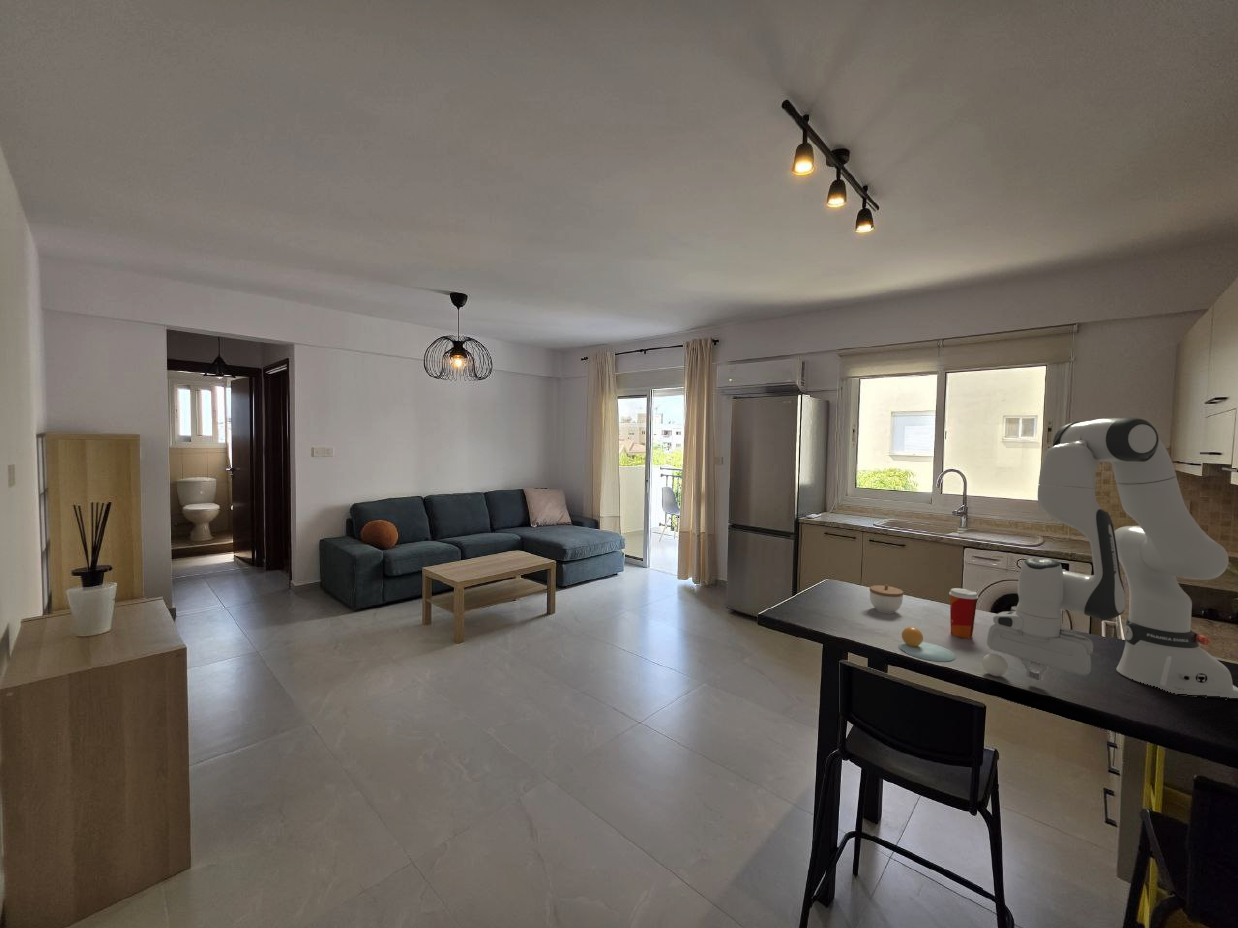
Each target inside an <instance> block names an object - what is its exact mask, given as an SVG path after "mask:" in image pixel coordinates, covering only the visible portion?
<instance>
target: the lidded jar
mask: <svg viewBox="0 0 1238 928" xmlns="http://www.w3.org/2000/svg"><path fill="white" fill-rule="evenodd" d="M903 597H904V591H903V590H902V589H900V588H897V587H894V586H891V585H890V586H889V585H888V584H884V585H881V584H879V585H877V584H876V585H871V586H869V599H870V603H871V605H872V606H873V607H874V609H875V610H876V611H877V610H878V611H877V612H879V611H880V612H879V613H882V612H883V614H895V613H896V612H897V611H899V609H900V608H901V606H902V604H903V599H904V598H903Z"/></svg>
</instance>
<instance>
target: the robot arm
mask: <svg viewBox="0 0 1238 928" xmlns="http://www.w3.org/2000/svg"><path fill="white" fill-rule="evenodd" d="M1052 440H1053V441H1052V446H1051V447H1049V448H1048V449H1047V450H1046V452H1045V454H1044V457H1043V461H1042V463H1041V467H1040V472H1039V476H1038V484H1037V485H1038V486H1037V502H1038V506H1039V507H1040V509H1041V510H1042V512H1044V513H1045V514H1046V515H1047V516H1049V518H1051V519H1053V520H1055V521H1057V522H1059V523H1061V524H1063V525H1066V526H1069V527H1071V528H1072V529H1074V530H1077V531H1078V532H1079V533H1081V534H1082V535H1084V536H1085V537H1086V538H1087V540H1088V542H1089V544H1090V551H1091V559H1092V566H1093V574H1092V575H1090V574H1084V573H1081V572H1080V573H1079V572H1075V571H1069V570H1064V569H1063V567H1062V564H1061V563H1060V562H1059V561H1057V560H1055V559H1051V558H1048V557H1031V558H1026V559H1024V560H1023V561H1022V564H1021V565H1020V566H1021V567H1020V571H1019V573H1018V574H1019V575H1018V582H1017V596H1018V603H1017V605H1016V606H1017V609H1016V611H1011V610H1010V611H1001V612H998V613H996V614H995V615H994V616H993V619H992V620H993V624H992V625H990V627H989V629H988V634H987V639H986V645H987V647H988V648H989V650H992V651H995V652H999V653H1002V654H1007V655H1009V656H1013V657H1017V658H1020V659H1021V664H1022V665H1023V666H1024V668H1025V670H1026V677H1027V678H1030V679H1033V680H1035V681H1039V682H1042V681H1043V680H1044V674H1045V673H1046V672H1047V671H1048V670H1049V669H1050V668H1055V669H1059V670H1062V671H1066V672H1069V673H1073V674H1077V675H1080V676H1086V675H1088V674H1089V673H1090V672H1091V670H1092V660H1091V659H1092V657H1091V655H1092V654H1093V652H1094V643H1093V641H1092V640H1091V639H1090V638H1088V637H1086V635H1084V634H1082V633H1075V632H1072V631H1069V630H1064V629H1062V622H1063V613H1062V610H1066V611H1069V612H1073V613H1077V614H1082V615H1085V616H1088V617H1091V618H1094V619H1098V620H1100V621H1109V620H1111V619H1115V618H1117V617H1120V616H1121V615H1123V613H1124V612H1125V609H1126V606H1127V605H1126V604H1127V597H1126V592H1125V588H1124V587H1125V586H1124V583H1123V580H1122V575H1121V569H1120V565H1121V567H1122V570H1123V572H1124V575H1125V578H1126V582H1127V585H1128V591H1129V594H1128V595H1129V601H1128V602H1129V605H1128V618H1127V619H1125V620H1126V621H1125V627H1124V640H1125V643H1124V647H1123V648H1124V649H1123V652H1122V655H1121V658H1120V660H1119V662H1118V665H1117V666H1116V671H1117V672H1118V673H1119V674H1120V675H1122V676H1124V677H1126V678H1128V679H1130V680H1132V679H1133V681H1136V682H1138V683H1140V682H1141V684H1143V683H1144V685H1147V684H1148V685H1147V686H1150V685H1151V686H1150V687H1153V686H1155V687H1154V688H1156V687H1158V688H1157V689H1159V688H1160V690H1162V689H1163V690H1162V691H1164V690H1165V692H1167V691H1168V693H1170V692H1171V693H1170V694H1173V693H1175V694H1174V695H1177V694H1187V695H1207V696H1220V697H1227V698H1228V697H1229V698H1238V687H1237V686H1236V685H1234V684H1233V678H1232V677H1233V676H1232V674H1231V672H1230V670H1229V669H1228V667H1227V666H1226V665H1224V664H1223V663H1222V662H1220V661H1219V660H1218V659H1217V658H1215V657H1214V656H1212V655H1211V654H1210V653H1208V652H1207V651H1206V650H1204V649H1203V648H1202V647H1200V645H1199V643H1200V644H1202V645H1203V646H1209V644H1211V642H1212V641H1211V639H1210V637H1207V636H1205V635H1203V634H1199V633H1197V632H1194V631H1193V630H1192V629H1191V624H1192V623H1191V621H1192V608H1193V607H1192V606H1193V602H1192V599H1191V597H1190V596H1189V595H1188V594H1187V593H1186V591H1184V590H1183V589H1182V587H1181V586H1180V584H1179V582H1178V579H1177V577H1178V578H1181V579H1188V580H1199V581H1200V580H1201V581H1202V580H1203V581H1207V580H1208V581H1210V580H1213V579H1216V578H1218V577H1220V576H1221V575H1223V574H1224V572H1225V571H1226V570H1227V569H1228V566H1229V560H1230V559H1229V554H1228V552H1227V550H1226V549H1225V548H1224V546H1223V545H1221V544H1220V543H1218V542H1217V541H1216V540H1214V539H1213V538H1211V537H1210V536H1209V535H1208V533H1206V532H1205V531H1204V530H1203V529H1202V528H1201V527H1200V525H1199V524H1198V523H1197V521H1196V519H1194V517H1193V516H1192V514H1191V513H1190V511H1189V510H1188V507H1187V506H1186V504H1185V500H1184V497H1183V495H1182V494H1183V493H1182V492H1181V488H1180V485H1179V481H1178V477H1177V473H1176V470H1175V469H1176V468H1175V466H1174V464H1173V461H1172V458H1171V456H1170V454H1169V453H1168V450H1167V448H1166V446H1165V445H1164V444H1163V442H1162V440H1160V438H1159V434H1158V431H1157V429H1156V428H1155V427H1154V426H1153V424H1152V423H1150V421H1147V420H1146V419H1142V418H1139V417H1128V416H1127V417H1106V418H1097V419H1092V420H1085V421H1075V422H1071V423H1068V424H1065V425H1063V426H1061V427H1060V428H1058V430H1057V432H1056V433H1055V435H1054V437H1053V439H1052ZM1107 462H1109V463H1110V464H1111V466H1112V469H1113V470H1112V471H1113V475H1114V480H1115V484H1116V488H1117V491H1118V496H1119V499H1120V503H1121V506H1122V507H1121V508H1122V510H1123V512H1125V514H1127V515H1128V517H1130V518H1132V519H1133V520H1134V521H1135V522H1136V524H1138V525H1126V526H1121V527H1119V528H1117V529H1115V528H1114V524H1113V520H1112V517H1111V516H1110V514H1109V512H1107V511H1105V510H1103V509H1102V508H1101V506H1100V504H1099V503H1098V501H1097V499H1096V481H1097V479H1096V475H1097V474H1096V470H1097V468H1098V466H1099V465H1100V464H1101V463H1107ZM1032 662H1034V663H1038V664H1040V666H1039V667H1040V668H1041V670H1040V671H1039V670H1035V669H1033V668H1032V666H1031V664H1030V663H1032ZM1187 695H1186V696H1187Z"/></svg>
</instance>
